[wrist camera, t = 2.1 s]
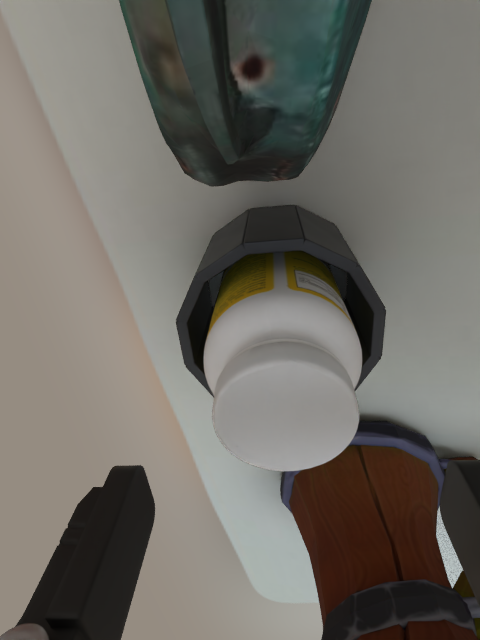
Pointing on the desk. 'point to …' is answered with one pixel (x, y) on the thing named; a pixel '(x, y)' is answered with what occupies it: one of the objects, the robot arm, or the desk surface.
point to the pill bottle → (282, 362)
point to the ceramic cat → (244, 79)
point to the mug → (380, 540)
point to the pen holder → (270, 237)
